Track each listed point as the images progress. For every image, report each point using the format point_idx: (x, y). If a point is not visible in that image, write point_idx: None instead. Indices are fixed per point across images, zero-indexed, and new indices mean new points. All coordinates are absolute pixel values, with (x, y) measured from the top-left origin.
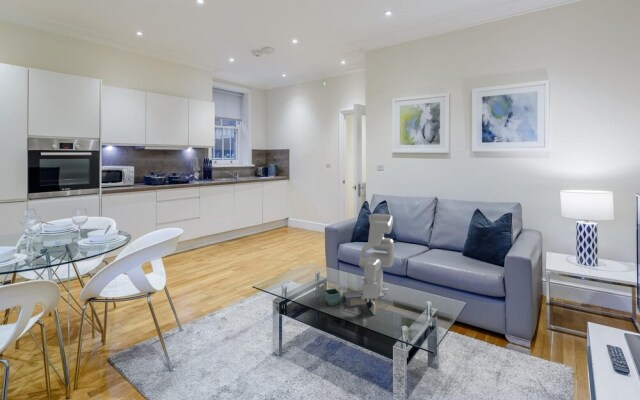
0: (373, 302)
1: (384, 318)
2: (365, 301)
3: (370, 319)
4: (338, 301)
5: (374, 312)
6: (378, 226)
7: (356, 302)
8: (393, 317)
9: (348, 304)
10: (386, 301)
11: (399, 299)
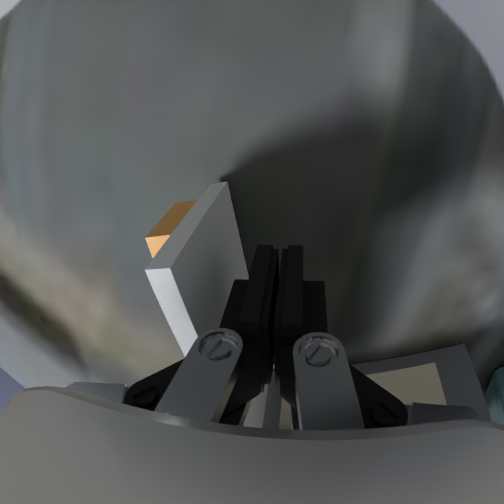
0: (185, 342)
1: (108, 104)
2: (285, 403)
3: (295, 59)
4: (500, 388)
5: (210, 193)
6: None
7: None
8: (37, 144)
9: (456, 367)
10: (123, 383)
11: (67, 377)
